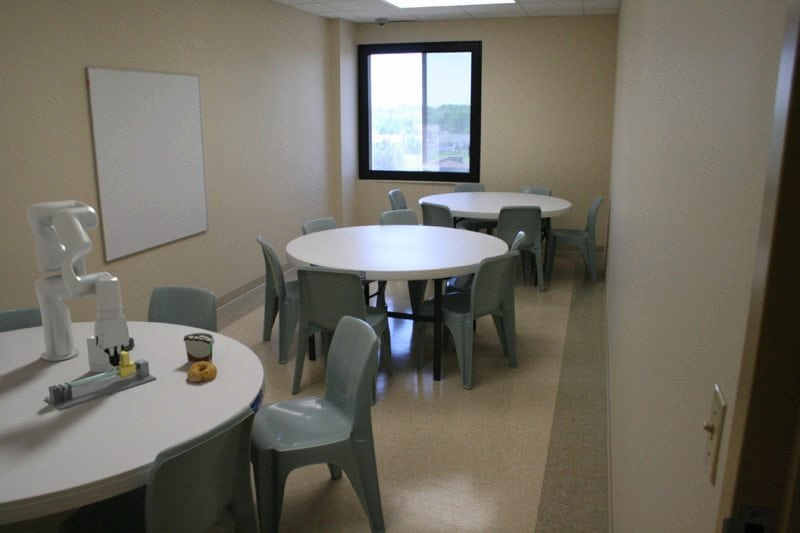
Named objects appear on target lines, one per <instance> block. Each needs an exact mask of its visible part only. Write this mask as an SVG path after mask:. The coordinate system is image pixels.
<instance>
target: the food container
mask: <svg viewBox="0 0 800 533" xmlns="http://www.w3.org/2000/svg"><path fill="white" fill-rule="evenodd" d="M183 342H184V345H185V350H186V358H187V362H189V363H193V362H196V363H197V362H201V361H204V362H209V363H212V364H213V348H214V347H213V345H214V344H215V338H214V336H213V335H212V334H210V333H207V332H193V333H189V334H186V335H183Z"/></svg>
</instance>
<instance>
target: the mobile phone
mask: <svg viewBox="0 0 800 533" xmlns="http://www.w3.org/2000/svg"><path fill="white" fill-rule="evenodd" d="M134 348H135V339H134V338H133V337H130V336H129V345H127V346H126V347H124V348H123V349H122V350H121V352H122V351H126V352H129V351H131V350H132V349H134Z"/></svg>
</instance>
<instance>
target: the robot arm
mask: <svg viewBox="0 0 800 533" xmlns="http://www.w3.org/2000/svg"><path fill="white" fill-rule="evenodd" d="M26 219H27V223H28V226H29V228H30V230H31V233H32V234H33V239H34V241H33V242H34V250H35V258H36V259H35V260H36V264H37V267H38V269H39V270H40V271H41V272H43V273H52V272H58V273H53V274H47V275H44V276H42V277H41V276H40V277H39V278H38V279H37V280H35V284H34V290H35V294H36V297H37V300H38V301H37V302H38V303H39V304H38V305H39V308H40V309H39V310H40V316H41V323H42V331H43V338H44V346H45V347H44V348H45V351H44V352H43V353H42V354H41V359H42V360H44V361H46V362H59V361H65V360H69V359H72V358H75V357H77V356H78V355H79V353H80V350H79V348H78V347H75V345H74V338H73V337H74V336H73V335H74V334H73V328H72V327H73V326H72V319H71V311H70V308H69V306H67V304H66V303H64V302H63V301H62V300H63V299H64V300H65V299H67V298H74V299H76V300H77V299H79V300H81V299H86V298H89V297H90V298H91V297H95V303H96V313H97V317H96V318H95V321H94V329H93V335H94V341H95V346H97V352H99V353H104V352H105V353H107V354H108V355H109V363H110V364H111V365H112V366H114V367H116V366H119V365H120V364H119V363H120V353H121V350H122V349H123V348H124V347H126V346H127V345H129V337H130V334H129V333H130V332H129V326H128V323H127V320H126V316H125V314H124V312H126V311H127V310H126V307H125V306H122V305H123V304H122V296H121V284H120V279H119V278H118V277H117V276H113V275H112V274H110V272H108V271H99V272H94V273H93V272H92V273H87V269H86V258H85V255H87V254H88V253H89V252H90V251H91V250H92V248H93V242H92V241H91V239H90V237H89V234H88V232H87V231H93V230H96V229H97V228H98V226H99V222H100V221H99V220H100V218H99V216H98V214H97V212H96V211H95V209H94V208H93V207H92V206H90V205H88V204H86V203H84V202H82V201H79V200H77V199H75V200H74V199H71V200H70V199H69V200H58V201H57V200H56V201H47V202H39V203H34V204H32V205H30V206H29V207H28V209H27V211H26ZM59 271H60V272H61V273H60V272H59ZM112 347H114V352H113V348H112Z"/></svg>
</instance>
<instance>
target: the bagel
mask: <svg viewBox="0 0 800 533" xmlns="http://www.w3.org/2000/svg"><path fill="white" fill-rule="evenodd" d="M217 374H218V368H217V366H216V365H215V364H214V363H213V362H212V363H209V362H204V361H201V362H197V363H193V364H192V365H191V366H190V367H189V369H188V371H187V374H186V375H187V379H188V381H189V383H195V382H196V383H200V382H201V383H202V382H208V381H211V380H214V379H216V377H217Z"/></svg>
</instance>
